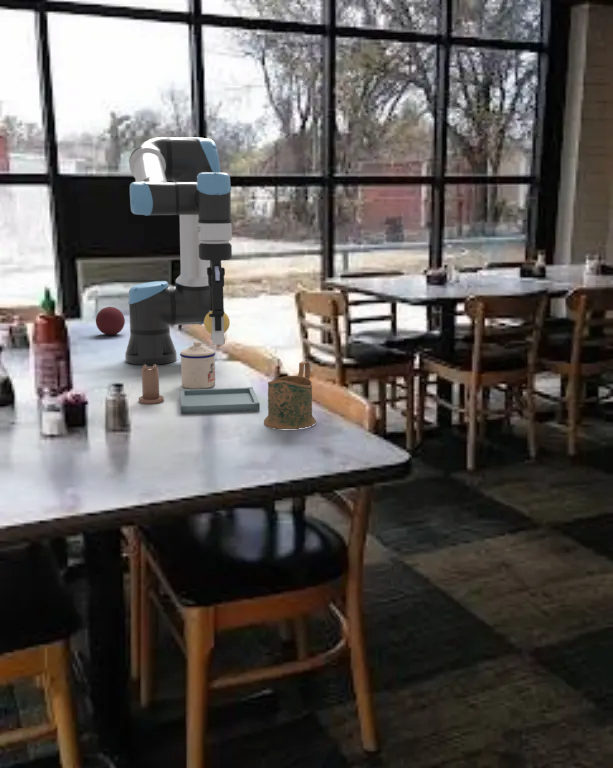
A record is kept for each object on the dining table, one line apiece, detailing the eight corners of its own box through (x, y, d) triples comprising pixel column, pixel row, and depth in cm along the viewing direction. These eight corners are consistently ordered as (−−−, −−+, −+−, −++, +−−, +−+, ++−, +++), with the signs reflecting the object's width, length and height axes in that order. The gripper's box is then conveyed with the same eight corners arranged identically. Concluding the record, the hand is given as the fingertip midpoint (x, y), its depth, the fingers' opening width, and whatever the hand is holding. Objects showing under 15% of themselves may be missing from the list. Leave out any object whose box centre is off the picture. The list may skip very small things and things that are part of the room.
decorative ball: (121, 337, 277) (120, 309, 275) (93, 337, 278) (91, 308, 275) (128, 332, 287) (127, 305, 285) (100, 332, 287) (99, 304, 285)
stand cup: (139, 398, 195) (137, 363, 193) (163, 397, 196) (162, 362, 194) (138, 404, 190) (136, 368, 188) (163, 403, 191) (162, 367, 189)
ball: (203, 333, 189) (203, 308, 188) (229, 332, 190) (228, 307, 189) (204, 337, 183) (204, 311, 182) (230, 336, 184) (230, 311, 183)
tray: (180, 396, 197) (180, 389, 197) (252, 394, 200) (252, 387, 199) (181, 414, 182) (181, 406, 181) (259, 410, 185) (259, 403, 184)
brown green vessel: (331, 411, 184) (331, 361, 182) (306, 432, 168) (306, 377, 165) (284, 407, 188) (284, 357, 185) (255, 427, 172) (255, 373, 169)
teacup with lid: (215, 389, 205) (214, 344, 202) (180, 390, 204) (178, 345, 201) (216, 378, 217) (215, 336, 214) (182, 379, 216) (180, 337, 213)
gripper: (197, 240, 190) (199, 335, 196) (200, 244, 172) (203, 349, 177) (228, 240, 192) (230, 334, 197) (234, 244, 173) (236, 348, 179)
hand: (217, 341), depth 187 cm, fingers closed on ball, 6 cm apart
